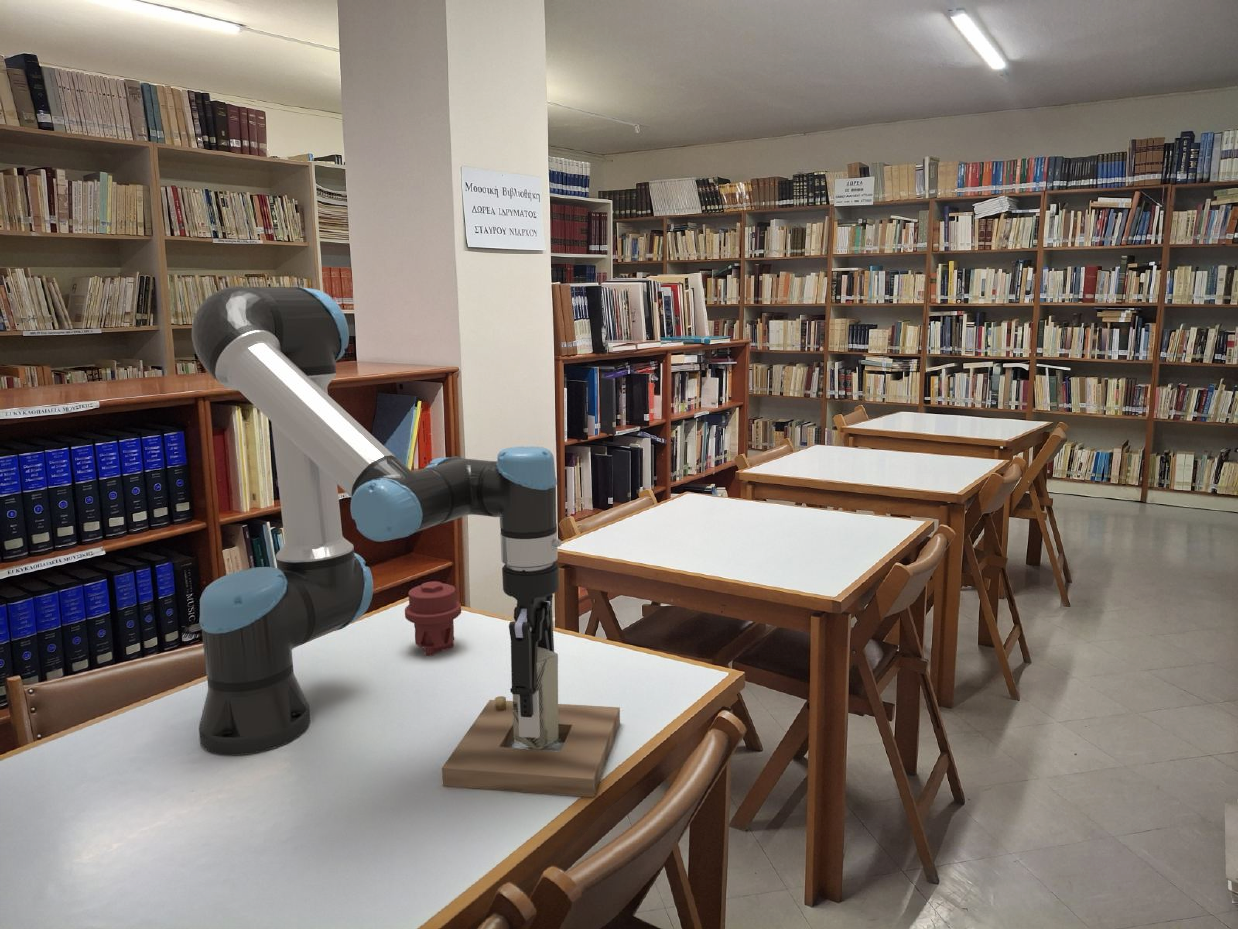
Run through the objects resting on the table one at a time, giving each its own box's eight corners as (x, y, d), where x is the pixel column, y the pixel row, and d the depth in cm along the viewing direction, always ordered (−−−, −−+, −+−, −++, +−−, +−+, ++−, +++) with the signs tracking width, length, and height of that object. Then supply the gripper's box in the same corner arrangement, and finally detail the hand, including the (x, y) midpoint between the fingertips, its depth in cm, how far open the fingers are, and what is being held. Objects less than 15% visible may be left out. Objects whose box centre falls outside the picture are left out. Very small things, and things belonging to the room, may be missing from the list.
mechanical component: (471, 640, 161) (450, 661, 151) (421, 637, 163) (397, 658, 153) (468, 577, 159) (446, 594, 149) (417, 575, 161) (393, 592, 151)
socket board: (593, 797, 108) (593, 768, 107) (442, 785, 111) (441, 757, 111) (620, 723, 127) (619, 698, 127) (490, 715, 131) (489, 690, 130)
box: (512, 740, 119) (508, 653, 117) (535, 728, 122) (531, 643, 120) (539, 752, 116) (535, 662, 113) (561, 740, 119) (559, 652, 117)
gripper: (539, 586, 105) (545, 761, 109) (573, 544, 123) (577, 695, 127) (480, 584, 106) (488, 757, 110) (522, 543, 124) (528, 693, 128)
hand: (536, 724), depth 119 cm, fingers closed on box, 6 cm apart
